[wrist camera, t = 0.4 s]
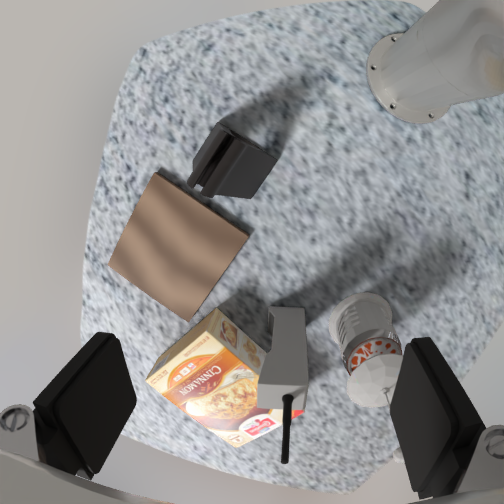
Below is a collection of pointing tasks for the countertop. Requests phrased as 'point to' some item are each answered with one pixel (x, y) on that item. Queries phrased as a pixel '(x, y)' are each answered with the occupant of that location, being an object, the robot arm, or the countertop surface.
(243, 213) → the countertop surface
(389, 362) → the french press
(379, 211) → the countertop surface
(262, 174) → the phone stand
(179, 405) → the coffeecake box
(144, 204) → the walnut board
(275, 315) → the vintage mobile phone
